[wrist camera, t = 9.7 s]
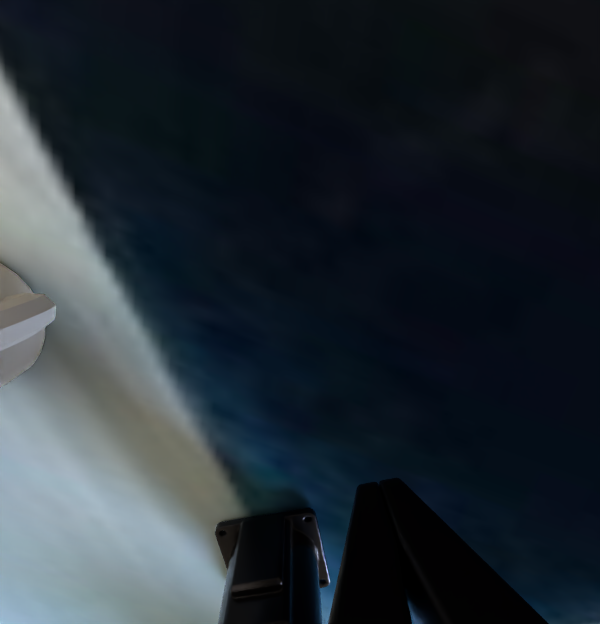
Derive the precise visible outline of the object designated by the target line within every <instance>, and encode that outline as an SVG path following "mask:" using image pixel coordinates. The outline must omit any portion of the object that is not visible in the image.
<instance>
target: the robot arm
mask: <svg viewBox="0 0 600 624" xmlns="http://www.w3.org/2000/svg"><path fill="white" fill-rule="evenodd" d="M223 530H224V531H223ZM215 535H216V538H217V541H218V544H219V547H220V550H221V553H222V556H223V559H224V562H225V565H226V568H227V571H228V572H227V577H226V583H225V588H224V593H223V599H222V604H221V610H220V615H219V621H218V624H322V615H321V600H320V588H322V587H326V586H328V585H329V583H330V578H329V572H328V567H327V563H326V558H325V554H324V549H323V545H322V540H321V536H320V531H319V527H318V522H317V518H316V513H315V511H314V510H313V509H310V508H305V509H299V510H293V511H287V512H281V513H274V514H268V515H262V516H256V517H250V518H243V519H237V520H231V521H225V522H220V523H219V524H217V527H216V531H215ZM409 608H410V609H409ZM410 612H411V615H412V618H413V621H414V624H548V623H547V622H546V621H545V620H544V619H543V618H542V617H541V616H540V615H539V614H538V613H537V612H536V611H535V610H534V609H533V608H532V607H531V606H530V605H529V604H528V603H527V602H526V601H525V600H524V599H523V598H522V597H521V596H520V595H519V594H518V593H517V592H516V591H515V590H514V589H513V588H511V587H510V586H509V585H508V584H507V583H506V582H505V581H504V580H503V579H502V578H501V577H500V576H499V575H498V574H497V573H496V572H495V571H494V570H493V569H492V568H491V567H490V566H489V565H488V564H487V563H486V562H485V561H484V560H483V559H482V558H481V557H480V556H479V555H478V554H477V553H476V552H475V551H474V550H472V549H471V548H470V547H469V546H468V545H467V544H466V543H465V542H464V541H463V540H462V539H461V538H460V537H459V536H458V535H457V534H456V533H455V532H454V531H453V530H452V529H451V528H450V527H449V526H448V525H447V524H446V523H445V522H444V521H443V520H442V519H441V518H440V517H439V516H438V515H437V514H436V513H435V512H434V511H432V510H431V509H430V508H429V507H428V506H427V505H426V504H425V503H424V502H423V501H422V500H421V499H420V498H419V497H418V496H417V495H416V494H415V493H414V492H413V491H412V490H411V489H410V488H409V487H408V486H407V485H406V484H405V483H404V482H403V481H402V480H400V479H399V478H392V479H387V480H382V481H380V482H379V484H378V483H377V482H371V483H366V484H361V485H359V486H358V487H357V490H356V495H355V500H354V505H353V509H352V514H351V519H350V523H349V528H348V533H347V538H346V542H345V547H344V552H343V556H342V561H341V566H340V571H339V575H338V580H337V585H336V589H335V594H334V599H333V604H332V608H331V613H330V618H329V622H328V624H412V621H411V615H410Z"/></svg>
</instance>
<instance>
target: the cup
mask: <svg viewBox="0 0 600 624" xmlns="http://www.w3.org/2000/svg"><path fill="white" fill-rule="evenodd" d="M55 316H56V304H55V303H54V302H53V301H52V300H50V299H49V298H48V297H47V296H46V295H45V294H34V293H33V291H32V290H31V288H30V287H29V286H28V285H27V284H26V283H25V282H24V281H23V280H22V279H21V278H20V277H19V276H18V275H17V274H16V273H14V272H13V271H12V270H10V269H9V268H7V267H6V266H4V265H3V264H1V263H0V388H1V387H3V386H4V385H6V384H8V383H9V382H11V381H12V380H14V379H15V378H16V377H18V376H19V375H21V374H22V373H23V372H24V371H26V370H27V369H28V368H30V367H31V366H32V365H33V364H34V363H35V361H36V360H37V358H38V357H39V355H40V354H41V351H42V347H43V344H44V340H45V327H46V326H47V325H48V324H50V323H51V322H52V321H53V320H54V319H55Z"/></svg>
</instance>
